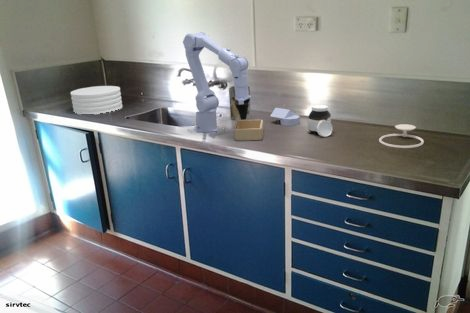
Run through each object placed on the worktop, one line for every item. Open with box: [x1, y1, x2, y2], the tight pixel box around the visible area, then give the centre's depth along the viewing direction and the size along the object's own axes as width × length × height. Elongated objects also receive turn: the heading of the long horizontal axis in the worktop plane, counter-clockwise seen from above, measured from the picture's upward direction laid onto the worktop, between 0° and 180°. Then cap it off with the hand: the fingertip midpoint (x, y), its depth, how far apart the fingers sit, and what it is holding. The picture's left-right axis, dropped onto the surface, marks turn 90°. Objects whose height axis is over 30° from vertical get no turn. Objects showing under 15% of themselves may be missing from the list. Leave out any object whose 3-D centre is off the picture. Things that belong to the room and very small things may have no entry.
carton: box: [234, 119, 264, 141], centre depth 192 cm, size 11×16×5 cm
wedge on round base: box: [270, 107, 300, 127], centre depth 209 cm, size 9×7×13 cm
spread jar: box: [307, 104, 333, 138], centre depth 189 cm, size 12×11×12 cm
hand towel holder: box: [378, 123, 425, 149], centre depth 176 cm, size 17×4×21 cm
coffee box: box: [228, 85, 252, 121], centre depth 219 cm, size 9×6×16 cm
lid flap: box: [232, 115, 240, 130], centre depth 191 cm, size 6×14×1 cm
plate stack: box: [70, 85, 123, 115], centre depth 258 cm, size 28×28×12 cm
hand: (244, 117), depth 191 cm, fingers open, 7 cm apart
